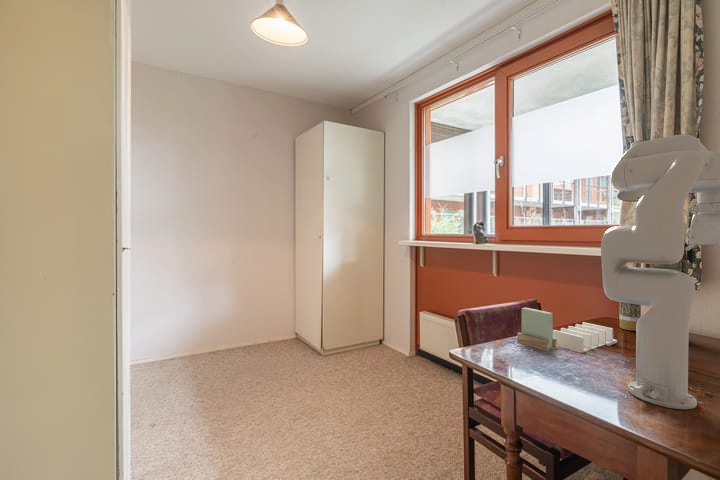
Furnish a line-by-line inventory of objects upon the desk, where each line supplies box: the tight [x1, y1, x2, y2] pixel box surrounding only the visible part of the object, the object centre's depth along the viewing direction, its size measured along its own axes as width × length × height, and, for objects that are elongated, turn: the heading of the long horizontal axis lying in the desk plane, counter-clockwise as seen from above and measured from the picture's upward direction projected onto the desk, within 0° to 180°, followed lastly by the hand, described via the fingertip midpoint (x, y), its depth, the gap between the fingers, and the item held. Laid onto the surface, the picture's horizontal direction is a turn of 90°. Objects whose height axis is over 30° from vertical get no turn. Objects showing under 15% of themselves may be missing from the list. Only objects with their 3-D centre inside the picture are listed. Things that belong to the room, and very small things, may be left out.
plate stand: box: [516, 332, 560, 352], centre depth 118 cm, size 7×12×4 cm, turn 30°
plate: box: [520, 306, 554, 348], centre depth 118 cm, size 2×10×12 cm, turn 30°
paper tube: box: [619, 302, 642, 332], centre depth 138 cm, size 7×7×25 cm
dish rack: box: [553, 321, 618, 354], centre depth 120 cm, size 25×11×6 cm, turn 120°
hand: (713, 263), depth 104 cm, fingers open, 9 cm apart
